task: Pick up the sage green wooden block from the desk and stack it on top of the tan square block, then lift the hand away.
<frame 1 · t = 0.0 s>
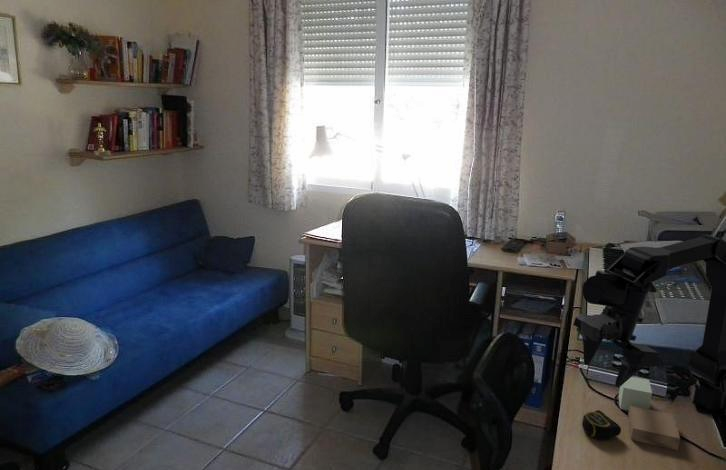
hand: (601, 374, 111), 15 cm above the table, fingers open, 9 cm apart
tape measure: (599, 432, 118), on the table
sage block: (632, 405, 127), on the table
tan square block: (651, 432, 117), on the table
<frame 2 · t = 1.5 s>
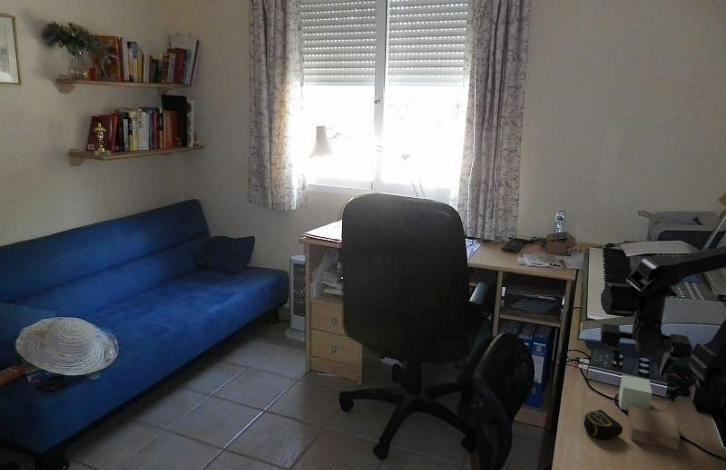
hand: (639, 371, 124), 9 cm above the table, fingers open, 9 cm apart
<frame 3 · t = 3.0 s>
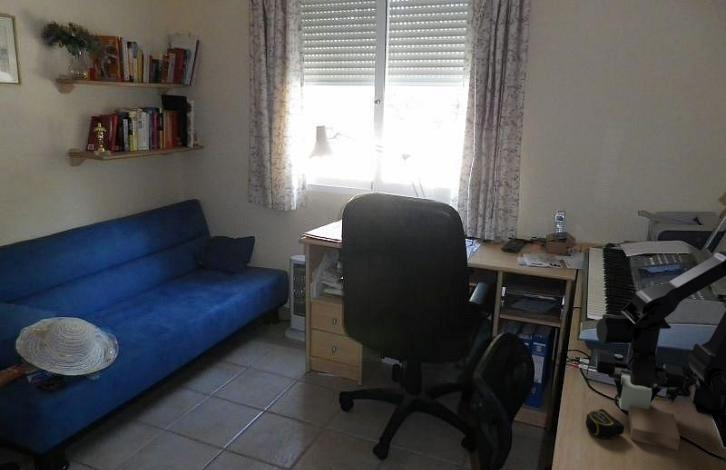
hand: (633, 400, 127), 1 cm above the table, fingers closed on sage block, 6 cm apart
sage block: (632, 404, 127), on the table, touching gripper
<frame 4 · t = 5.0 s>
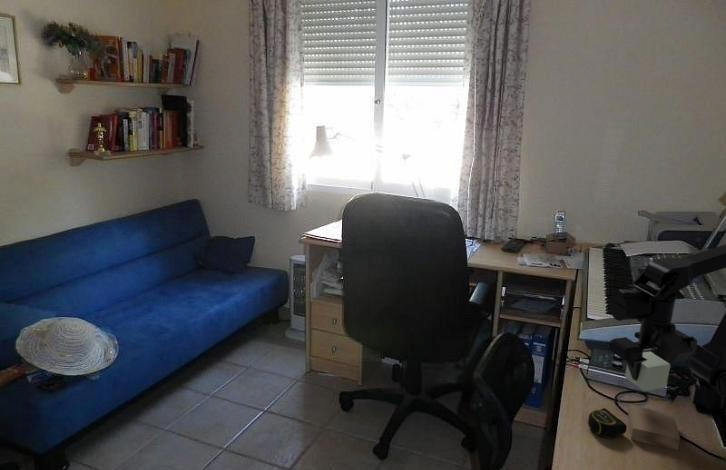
hand: (645, 377, 120), 10 cm above the table, fingers closed on sage block, 6 cm apart
sage block: (645, 382, 121), point 9 cm above the table, touching gripper
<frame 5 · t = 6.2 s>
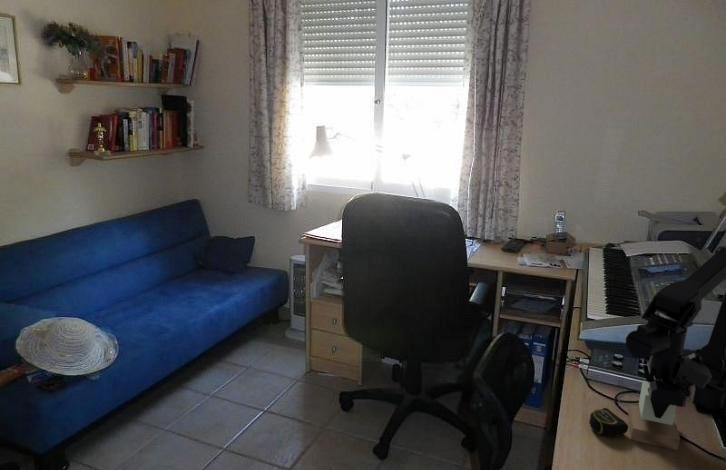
hand: (656, 409, 115), 6 cm above the table, fingers closed on sage block, 6 cm apart
sage block: (655, 413, 116), point 5 cm above the table, touching gripper
when the fingers open (6 cm above the table, at t = 7.1 s): sage block drops 1 cm, resting on tan square block.
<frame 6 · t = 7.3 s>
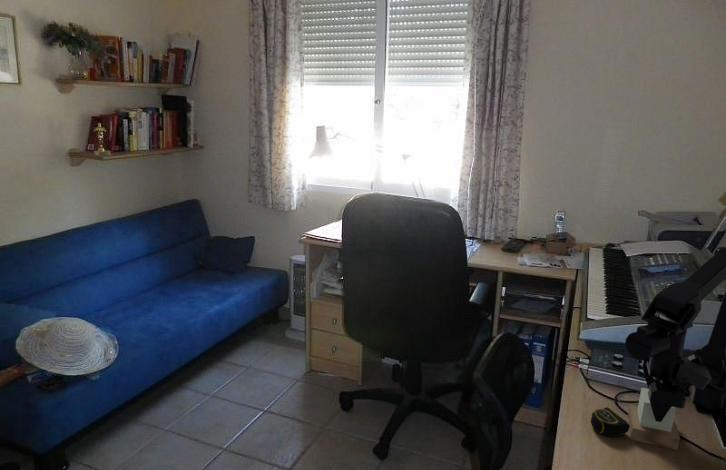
hand: (655, 410, 115), 6 cm above the table, fingers open, 8 cm apart
sage block: (653, 420, 116), point 3 cm above the table, touching tan square block
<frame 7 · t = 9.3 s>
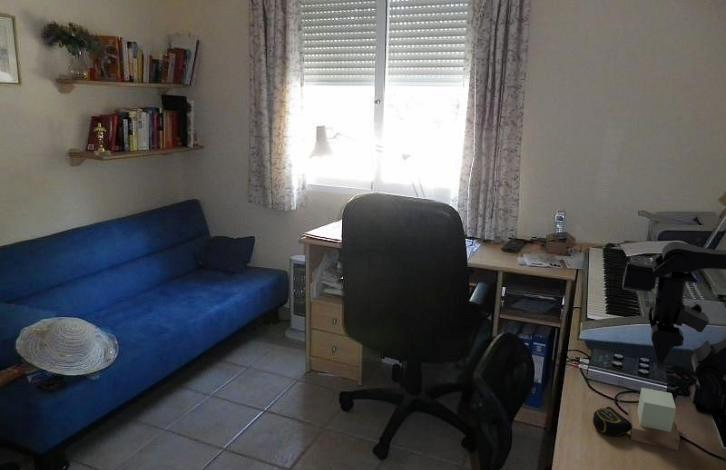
hand: (659, 353, 128), 11 cm above the table, fingers open, 9 cm apart
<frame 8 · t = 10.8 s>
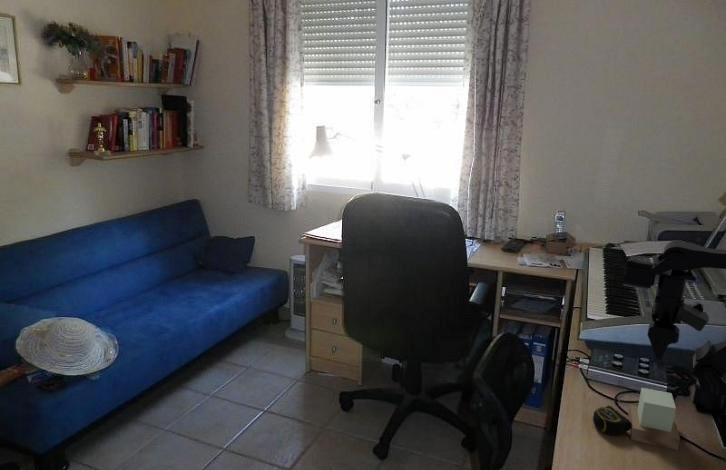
hand: (659, 351, 129), 12 cm above the table, fingers open, 9 cm apart
at the end: sage block 0.0 cm off-centre on the tan square block, point 3.0 cm above the tan square block's base; sage block tilted 0°; the gripper is holding nothing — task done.
